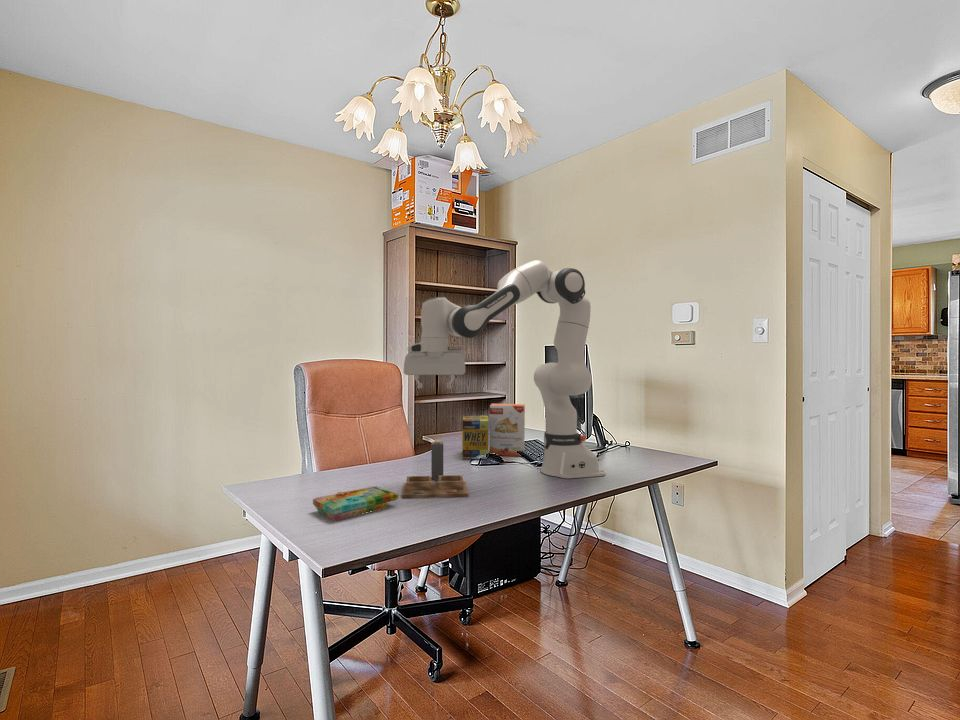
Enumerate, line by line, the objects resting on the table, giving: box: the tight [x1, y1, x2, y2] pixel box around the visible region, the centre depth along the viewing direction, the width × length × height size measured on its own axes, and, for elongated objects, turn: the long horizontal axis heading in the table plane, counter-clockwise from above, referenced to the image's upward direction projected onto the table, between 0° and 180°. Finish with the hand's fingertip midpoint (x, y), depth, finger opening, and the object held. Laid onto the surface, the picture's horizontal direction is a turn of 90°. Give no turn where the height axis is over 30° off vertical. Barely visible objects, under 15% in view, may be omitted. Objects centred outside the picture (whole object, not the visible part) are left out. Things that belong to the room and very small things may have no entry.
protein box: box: [461, 414, 490, 460], centre depth 218 cm, size 10×15×16 cm
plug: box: [430, 439, 444, 480], centre depth 183 cm, size 4×4×13 cm
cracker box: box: [488, 403, 526, 458], centre depth 219 cm, size 14×6×21 cm, turn 81°
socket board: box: [400, 474, 470, 499], centre depth 167 cm, size 20×14×4 cm
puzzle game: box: [312, 485, 399, 521], centre depth 149 cm, size 12×5×20 cm
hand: (434, 388), depth 176 cm, fingers open, 8 cm apart
